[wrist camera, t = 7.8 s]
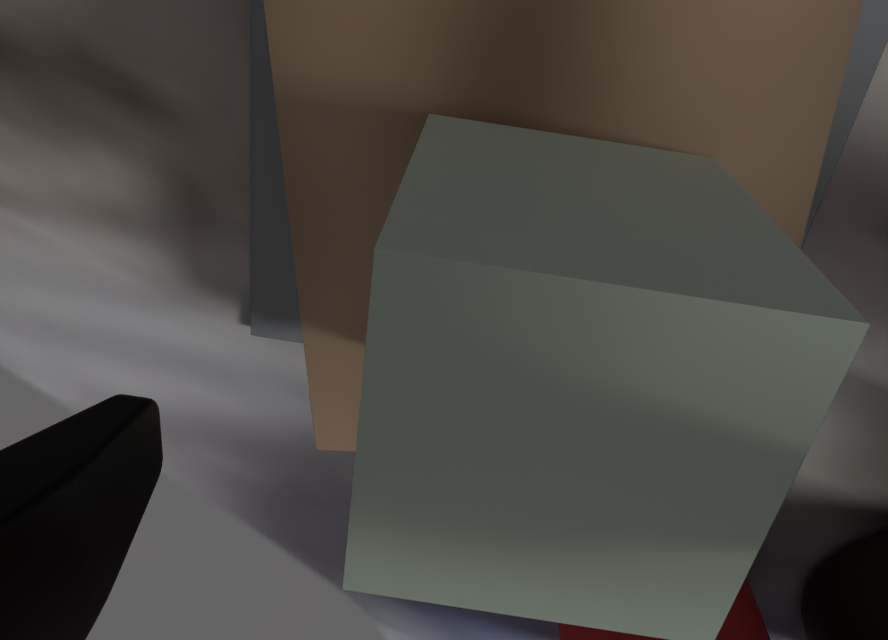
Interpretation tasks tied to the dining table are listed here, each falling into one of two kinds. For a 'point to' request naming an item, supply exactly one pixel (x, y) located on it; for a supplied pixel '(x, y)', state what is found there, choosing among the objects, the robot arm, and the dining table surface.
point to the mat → (271, 241)
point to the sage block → (583, 382)
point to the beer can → (738, 636)
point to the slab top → (526, 118)
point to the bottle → (850, 594)
